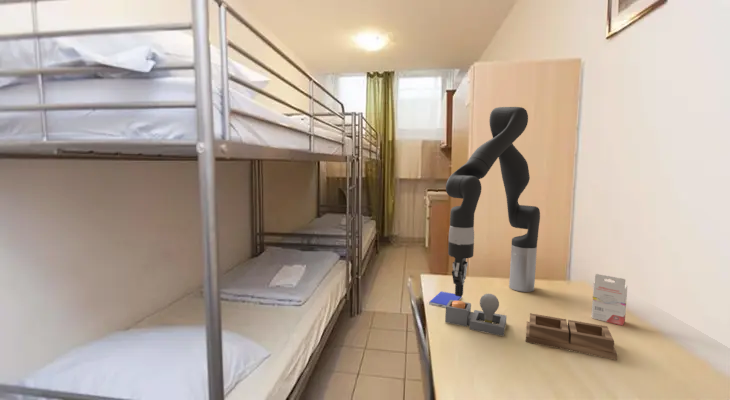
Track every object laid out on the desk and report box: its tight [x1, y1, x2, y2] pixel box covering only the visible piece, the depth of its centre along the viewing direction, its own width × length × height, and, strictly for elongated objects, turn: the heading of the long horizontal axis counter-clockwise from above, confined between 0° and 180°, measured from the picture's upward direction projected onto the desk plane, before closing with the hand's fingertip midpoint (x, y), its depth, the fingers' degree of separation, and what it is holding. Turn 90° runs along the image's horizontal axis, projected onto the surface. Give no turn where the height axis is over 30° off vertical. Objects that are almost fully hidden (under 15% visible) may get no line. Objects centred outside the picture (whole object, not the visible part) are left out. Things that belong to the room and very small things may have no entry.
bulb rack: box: [525, 313, 618, 361], centre depth 100 cm, size 11×21×4 cm, turn 65°
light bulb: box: [479, 293, 500, 323], centre depth 109 cm, size 6×5×10 cm
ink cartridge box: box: [591, 273, 628, 327], centre depth 115 cm, size 9×5×15 cm, turn 47°
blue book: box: [428, 291, 463, 309], centre depth 130 cm, size 2×8×12 cm
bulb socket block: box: [444, 300, 507, 337], centre depth 111 cm, size 10×17×5 cm, turn 65°
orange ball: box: [452, 300, 465, 309], centre depth 113 cm, size 4×4×4 cm
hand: (459, 295), depth 113 cm, fingers closed
